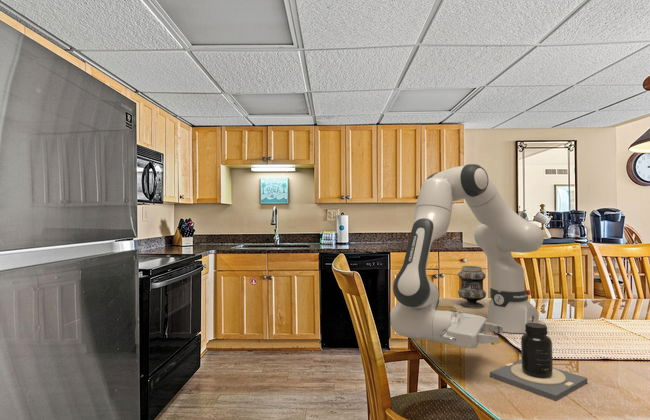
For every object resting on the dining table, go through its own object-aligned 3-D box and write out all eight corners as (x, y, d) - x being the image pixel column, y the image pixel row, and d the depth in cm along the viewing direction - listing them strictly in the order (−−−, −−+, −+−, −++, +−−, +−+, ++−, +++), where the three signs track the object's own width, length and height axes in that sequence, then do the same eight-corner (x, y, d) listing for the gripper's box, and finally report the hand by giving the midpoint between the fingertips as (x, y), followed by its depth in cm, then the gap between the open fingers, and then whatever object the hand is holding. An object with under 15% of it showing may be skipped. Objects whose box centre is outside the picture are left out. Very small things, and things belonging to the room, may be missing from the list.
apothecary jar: (490, 305, 177) (489, 266, 177) (480, 310, 168) (479, 269, 168) (464, 301, 185) (464, 264, 185) (453, 306, 176) (453, 266, 177)
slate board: (523, 362, 108) (522, 356, 108) (587, 382, 94) (587, 375, 94) (489, 376, 99) (489, 369, 99) (555, 400, 85) (555, 392, 85)
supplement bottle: (516, 368, 99) (515, 321, 100) (541, 367, 100) (540, 320, 100) (532, 379, 92) (531, 329, 93) (559, 378, 93) (558, 328, 93)
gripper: (437, 324, 99) (495, 332, 92) (454, 308, 117) (504, 314, 110) (437, 349, 99) (496, 359, 92) (454, 329, 116) (504, 336, 109)
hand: (500, 334), depth 101 cm, fingers open, 8 cm apart
